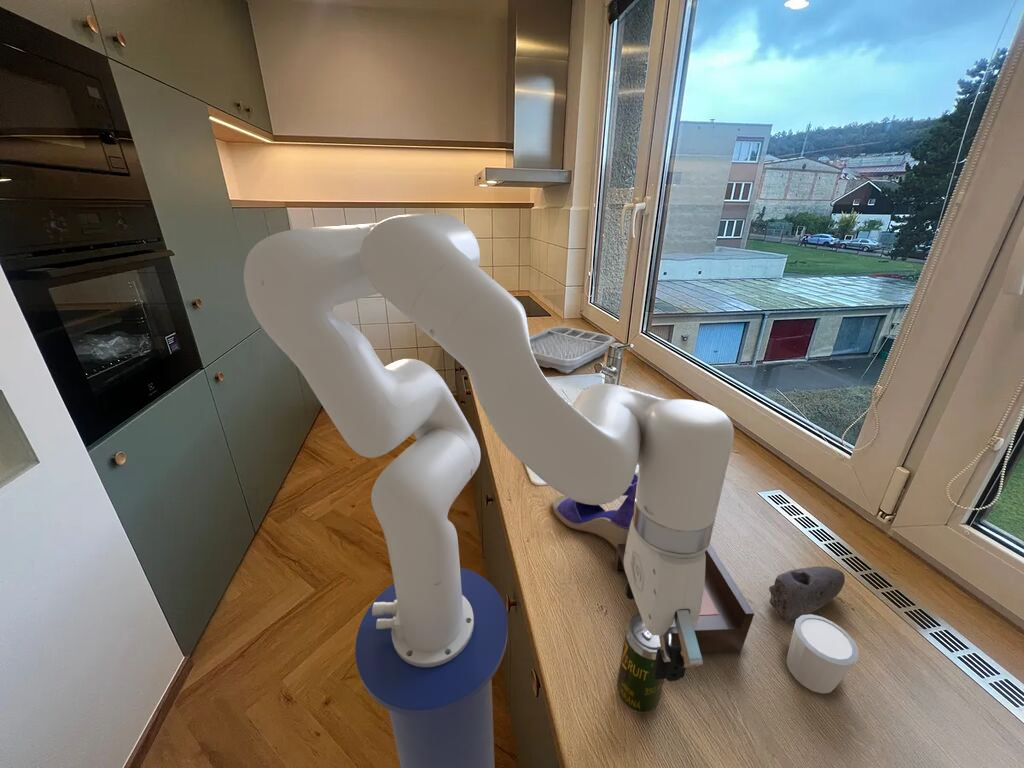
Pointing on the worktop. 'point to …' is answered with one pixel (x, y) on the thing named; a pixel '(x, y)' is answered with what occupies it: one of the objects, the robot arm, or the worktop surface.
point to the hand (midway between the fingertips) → (652, 632)
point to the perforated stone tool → (804, 590)
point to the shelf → (715, 608)
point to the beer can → (639, 667)
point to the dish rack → (568, 347)
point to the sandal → (599, 516)
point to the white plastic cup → (820, 653)
